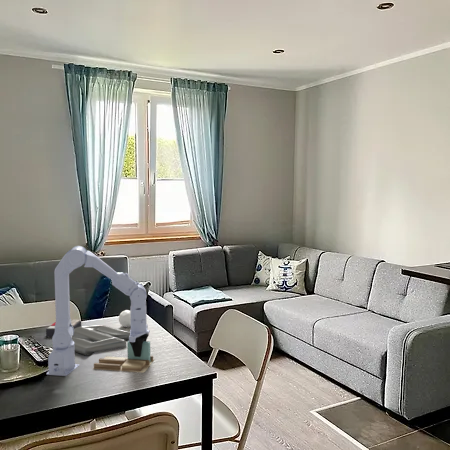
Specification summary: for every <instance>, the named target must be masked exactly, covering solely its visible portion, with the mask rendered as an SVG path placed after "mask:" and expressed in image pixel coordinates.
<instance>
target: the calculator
mask: <svg viewBox="0 0 450 450" xmlns="http://www.w3.org/2000/svg"><path fill="white" fill-rule="evenodd" d="M55 323H56V321H55V322H53V323H52V324H50V326H48V327H47V328H46V329H45V337H46V338H52V337H53V335H54V333H55ZM71 324H72V326H73V328H74V329H75V328H77V327H82V320H81V319H71Z"/></svg>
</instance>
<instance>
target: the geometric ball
mask: <svg viewBox="0 0 450 450" xmlns="http://www.w3.org/2000/svg"><path fill="white" fill-rule="evenodd" d="M118 322H119V324H120V326H122V327H124V328H131V317H130V310H129V309H125V310H123V311H121V312H120V314H119V315H118Z"/></svg>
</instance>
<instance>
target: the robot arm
mask: <svg viewBox="0 0 450 450" xmlns="http://www.w3.org/2000/svg"><path fill="white" fill-rule="evenodd" d="M83 265H84V266H83ZM82 266H83V267H84V268H93V269H95V270H96V271H98V272H99V273H101V274H102V275H104V276H105V277H106V278H108V279H110V280H111V285H112V286H113V287H115V289H117V290H119V291H120V292H121V293H123V294H124V295H125V296H128V297H129V299H130V307H129V308H130V317H131V326H130V330H129V332H130V336H129V338H128V341H129V342H130V344H131V346H132V349H133V352H134V356H135V357H140V356H141V351H142V345H143V342H144V341H147V339H148V337H149V335H150V333H151V332H150V331H151V330H149V328H148V327H149V326H148V323H147V301H146V300H147V297H148V296H147V289H146V288H145V286H144V285H143V284H141V283H140V282H139V281H135V280H134V279H133V278H131V277H129V273H128V272H123V271H121V272H117V271H116V270H114V268H112V267H111V266H110V265H109V264H107V263H106V262H105V261H103V260H102V259H101V258H100V257H99V256H97V255H96V254H95V253H94V252H92V251H91V250H87V248H85V247H84V246H81V245H75V246H73V247H72V248H71V249H69V250H68V251H67V252H66V253H65V254H64V255H63V256H62V257H61V260H60V261H59V263H58V264H57V265H56V266H55V268H54V273H53V274H54V299H55V301H54V302H55V303H54V304H55V322H56V323H55V322H54V323H55V333H54V335H53V337H51V342H52V349H51V352H50V353H49V355H48V357H47V361H48V362H47V364H48V365H47V366H48V371H47V372H46V375H47V376H61V377H67V376H69V375H70V374H71V373H72V372H73V371H75V369H77V368H78V367H79V366H80V364H79V363H76V352H75V346H74V341H73V340H72V336H73V335H74V328H73V326H72V324H71V320H72V318H71V297H70V296H71V295H70V274H72V272H73V271H74V270H76V269H79V268H80V267H82Z"/></svg>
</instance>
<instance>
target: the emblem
mask: <svg viewBox="0 0 450 450" xmlns="http://www.w3.org/2000/svg"><path fill="white" fill-rule="evenodd" d="M129 336H130V331H127V330H122V329H118V328H115V327H111V326H107V325H102V324H99V325H84V326H81V327H77V328H75V329H74V335H73V336H72V340H73V341H74V346H75V353H77V354H81V355H82V356H83V355H84V356H92V355H94V354H95V353H100V352H105V351H112V350H116V349H118V350H119V349H123V348H126V347H127V342H128V341H129V340H128V338H129Z"/></svg>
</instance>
